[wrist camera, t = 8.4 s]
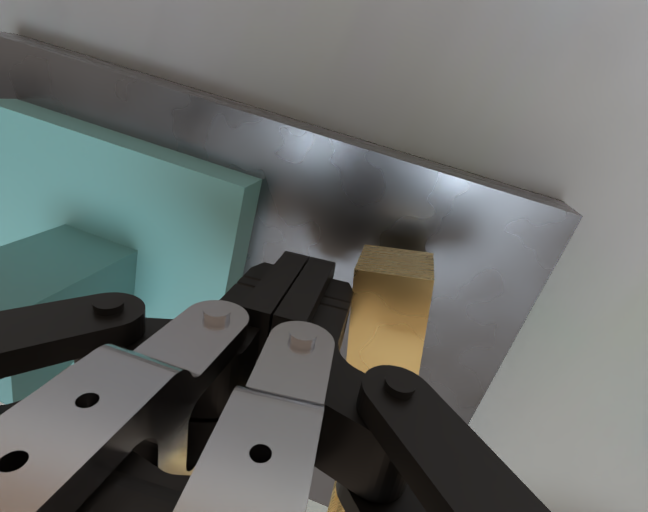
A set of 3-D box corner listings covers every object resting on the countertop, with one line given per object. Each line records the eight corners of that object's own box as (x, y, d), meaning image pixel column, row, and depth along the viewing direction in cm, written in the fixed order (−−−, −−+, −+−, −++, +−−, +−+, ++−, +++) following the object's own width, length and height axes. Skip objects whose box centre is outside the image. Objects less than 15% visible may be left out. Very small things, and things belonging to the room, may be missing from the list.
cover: (25, 317, 19) (-151, 413, 13) (16, 98, 15) (-241, 97, 9) (218, 394, 18) (118, 535, 12) (262, 179, 14) (144, 235, 8)
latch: (400, 470, 17) (393, 579, 13) (343, 457, 17) (320, 558, 14) (438, 238, 13) (443, 294, 9) (365, 229, 14) (341, 279, 10)
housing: (29, 346, 23) (-5, 368, 21) (17, 34, 17) (-33, 26, 15) (406, 500, 20) (404, 538, 19) (562, 201, 14) (582, 216, 12)
